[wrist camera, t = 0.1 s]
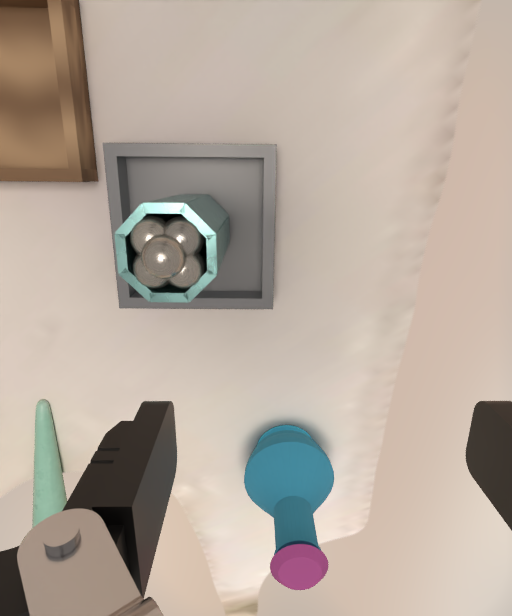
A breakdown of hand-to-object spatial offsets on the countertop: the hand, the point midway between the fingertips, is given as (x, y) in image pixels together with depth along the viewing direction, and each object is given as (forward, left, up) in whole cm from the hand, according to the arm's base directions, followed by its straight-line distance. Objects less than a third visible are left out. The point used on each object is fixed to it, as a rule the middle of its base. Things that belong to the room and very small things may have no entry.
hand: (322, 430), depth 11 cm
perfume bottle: (+23, +2, -30) cm, 37 cm away
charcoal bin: (-2, -7, -29) cm, 30 cm away
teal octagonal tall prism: (-2, -7, -28) cm, 29 cm away
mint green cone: (+30, -25, -30) cm, 49 cm away
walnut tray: (-13, -23, -29) cm, 39 cm away
